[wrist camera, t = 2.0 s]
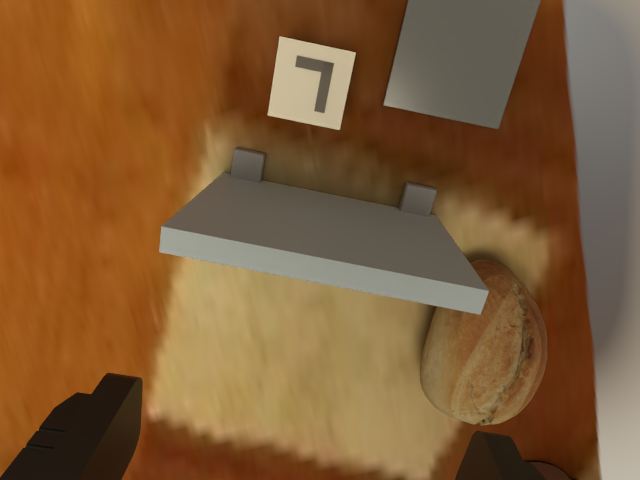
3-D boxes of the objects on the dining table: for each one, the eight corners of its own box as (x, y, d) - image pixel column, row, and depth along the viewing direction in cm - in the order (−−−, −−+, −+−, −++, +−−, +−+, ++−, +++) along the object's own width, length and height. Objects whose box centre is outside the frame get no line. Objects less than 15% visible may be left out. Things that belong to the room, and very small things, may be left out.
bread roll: (541, 256, 39) (590, 300, 31) (502, 398, 44) (537, 464, 37) (430, 246, 39) (452, 288, 31) (404, 389, 44) (418, 453, 37)
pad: (537, 1, 32) (540, -1, 32) (495, 128, 35) (498, 129, 35) (413, -27, 32) (415, -29, 31) (382, 104, 35) (383, 105, 34)
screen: (443, 189, 37) (503, 253, 24) (423, 256, 39) (468, 348, 26) (226, 145, 36) (164, 185, 23) (217, 215, 38) (156, 288, 25)
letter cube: (353, 55, 34) (355, 52, 29) (339, 122, 36) (339, 130, 31) (287, 41, 34) (279, 36, 29) (276, 109, 35) (267, 115, 31)
